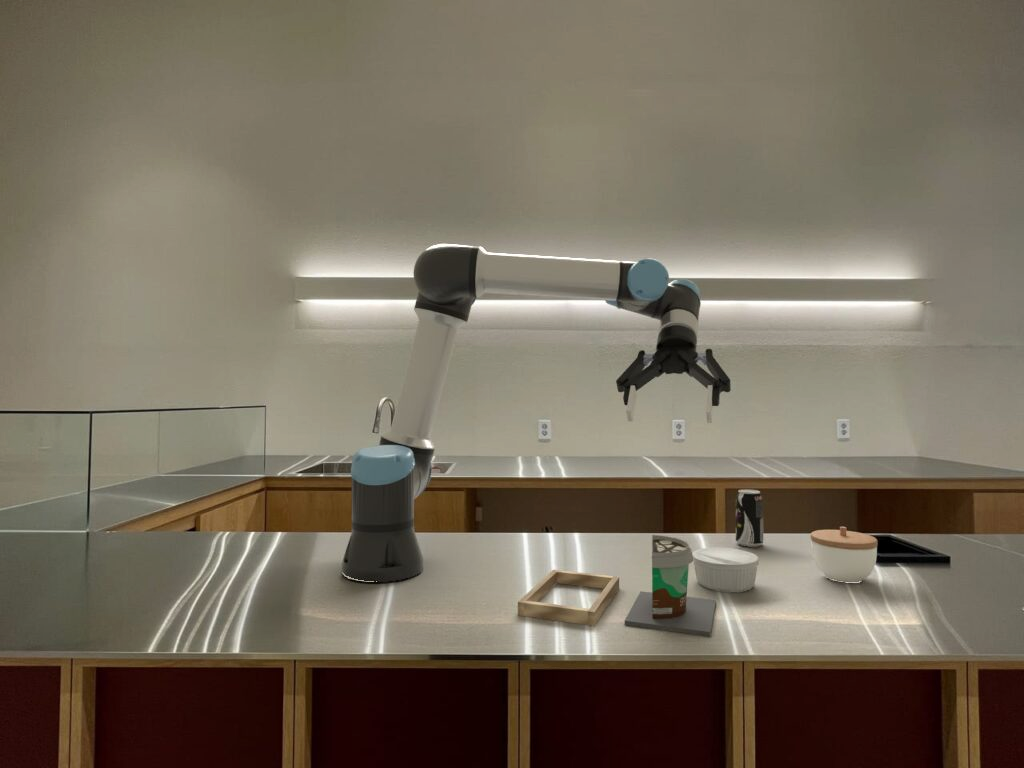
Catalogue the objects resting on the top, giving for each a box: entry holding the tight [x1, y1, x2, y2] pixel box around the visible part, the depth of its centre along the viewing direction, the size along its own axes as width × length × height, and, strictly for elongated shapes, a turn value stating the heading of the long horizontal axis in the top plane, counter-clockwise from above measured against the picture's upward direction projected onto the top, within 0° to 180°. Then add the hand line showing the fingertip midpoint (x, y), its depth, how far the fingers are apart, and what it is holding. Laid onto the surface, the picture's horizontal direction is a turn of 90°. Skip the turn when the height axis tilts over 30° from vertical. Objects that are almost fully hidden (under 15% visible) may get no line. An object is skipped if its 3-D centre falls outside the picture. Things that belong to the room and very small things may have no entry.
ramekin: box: [692, 547, 760, 593], centre depth 108 cm, size 11×11×5 cm
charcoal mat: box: [624, 590, 717, 637], centre depth 94 cm, size 12×14×1 cm
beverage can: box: [734, 488, 764, 548], centre depth 136 cm, size 6×6×12 cm
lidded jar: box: [810, 526, 879, 582], centre depth 111 cm, size 11×11×9 cm
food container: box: [651, 534, 694, 619], centre depth 94 cm, size 12×6×10 cm, turn 167°
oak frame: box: [517, 569, 620, 627], centre depth 100 cm, size 12×18×2 cm, turn 159°
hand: (668, 417), depth 107 cm, fingers open, 13 cm apart
